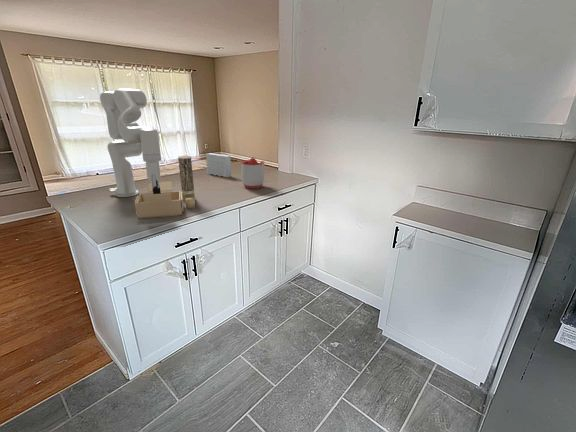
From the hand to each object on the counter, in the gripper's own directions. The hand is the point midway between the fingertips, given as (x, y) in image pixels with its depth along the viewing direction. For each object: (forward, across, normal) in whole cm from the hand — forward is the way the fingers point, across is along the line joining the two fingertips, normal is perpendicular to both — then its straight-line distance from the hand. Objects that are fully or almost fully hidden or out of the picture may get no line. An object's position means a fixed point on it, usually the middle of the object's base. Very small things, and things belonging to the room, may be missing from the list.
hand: (157, 195), depth 139 cm
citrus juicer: (+12, -45, +57) cm, 74 cm away
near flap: (+4, -2, 0) cm, 4 cm away
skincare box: (+13, -83, +39) cm, 93 cm away
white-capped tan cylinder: (+12, -14, +15) cm, 23 cm away
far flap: (+4, -19, 0) cm, 20 cm away
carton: (+12, -11, 0) cm, 16 cm away
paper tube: (+12, -28, +14) cm, 34 cm away
